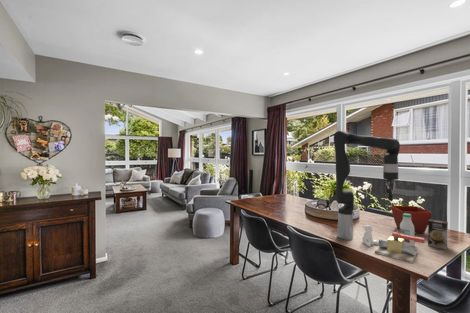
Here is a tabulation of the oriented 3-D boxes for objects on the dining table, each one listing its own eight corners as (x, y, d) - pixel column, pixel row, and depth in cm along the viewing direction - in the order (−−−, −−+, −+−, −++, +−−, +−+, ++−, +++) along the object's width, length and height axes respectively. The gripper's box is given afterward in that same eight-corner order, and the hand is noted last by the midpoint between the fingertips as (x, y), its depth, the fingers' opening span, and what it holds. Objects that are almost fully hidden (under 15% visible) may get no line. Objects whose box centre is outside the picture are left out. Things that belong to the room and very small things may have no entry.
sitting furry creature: (368, 247, 146) (368, 228, 146) (357, 242, 154) (357, 224, 154) (380, 245, 148) (380, 226, 148) (368, 240, 157) (368, 223, 156)
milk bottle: (408, 242, 152) (408, 212, 152) (417, 247, 145) (417, 215, 145) (396, 242, 152) (396, 212, 152) (405, 247, 145) (405, 215, 144)
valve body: (377, 248, 140) (377, 236, 140) (381, 245, 145) (381, 234, 145) (412, 257, 128) (412, 244, 127) (415, 253, 132) (415, 241, 132)
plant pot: (432, 235, 165) (432, 212, 165) (402, 234, 169) (402, 211, 169) (417, 227, 184) (417, 206, 184) (390, 226, 188) (390, 205, 187)
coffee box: (427, 245, 147) (427, 220, 147) (428, 243, 152) (428, 218, 151) (447, 249, 140) (447, 223, 140) (447, 246, 145) (447, 221, 145)
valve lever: (391, 238, 136) (391, 233, 136) (393, 237, 139) (393, 231, 139) (423, 245, 125) (423, 239, 125) (424, 243, 128) (424, 238, 128)
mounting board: (374, 252, 137) (374, 250, 137) (382, 245, 148) (382, 243, 148) (412, 263, 124) (412, 260, 124) (417, 253, 135) (417, 251, 135)
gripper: (395, 172, 132) (395, 202, 132) (400, 171, 141) (400, 199, 141) (380, 171, 137) (380, 200, 138) (386, 170, 147) (386, 197, 147)
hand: (390, 199), depth 139 cm, fingers closed
